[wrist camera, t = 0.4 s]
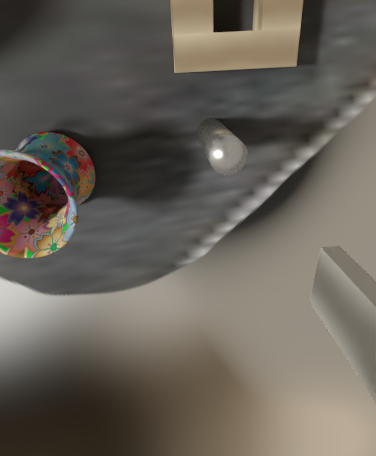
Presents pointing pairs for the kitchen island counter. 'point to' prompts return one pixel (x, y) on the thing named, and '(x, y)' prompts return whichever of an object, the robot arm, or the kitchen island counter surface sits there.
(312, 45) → the kitchen island counter surface
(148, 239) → the kitchen island counter surface
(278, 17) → the hole block
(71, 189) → the mug
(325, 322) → the robot arm
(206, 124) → the peg
